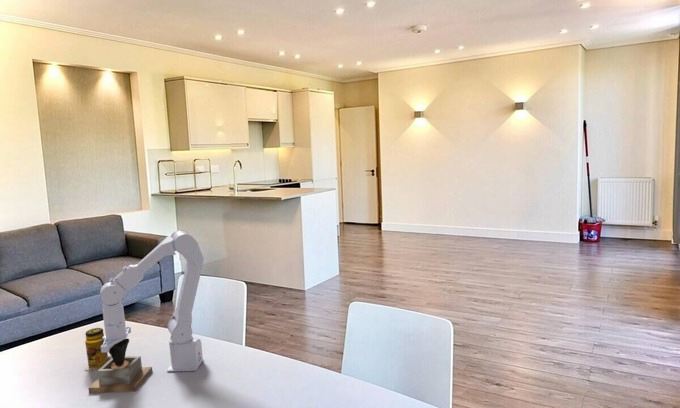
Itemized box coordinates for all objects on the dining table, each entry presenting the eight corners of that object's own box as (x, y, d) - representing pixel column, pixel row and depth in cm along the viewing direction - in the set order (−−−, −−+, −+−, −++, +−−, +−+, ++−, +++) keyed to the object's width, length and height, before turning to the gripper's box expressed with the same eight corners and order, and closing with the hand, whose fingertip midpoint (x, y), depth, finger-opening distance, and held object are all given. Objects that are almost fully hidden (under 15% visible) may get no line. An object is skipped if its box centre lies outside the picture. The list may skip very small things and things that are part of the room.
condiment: (85, 371, 155) (80, 336, 153) (90, 359, 163) (85, 326, 161) (109, 366, 157) (105, 332, 155) (113, 356, 165) (109, 323, 163)
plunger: (135, 370, 149) (133, 359, 149) (126, 380, 143) (124, 368, 143) (116, 371, 149) (115, 360, 149) (106, 381, 143) (105, 369, 143)
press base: (152, 371, 152) (150, 353, 151) (135, 391, 140) (133, 372, 139) (109, 372, 153) (107, 355, 152) (88, 392, 141) (86, 373, 140)
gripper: (113, 313, 151) (118, 354, 153) (88, 332, 137) (94, 376, 139) (135, 312, 151) (140, 353, 153) (112, 331, 137) (117, 375, 138)
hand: (119, 364), depth 146 cm, fingers closed, pressing on plunger
